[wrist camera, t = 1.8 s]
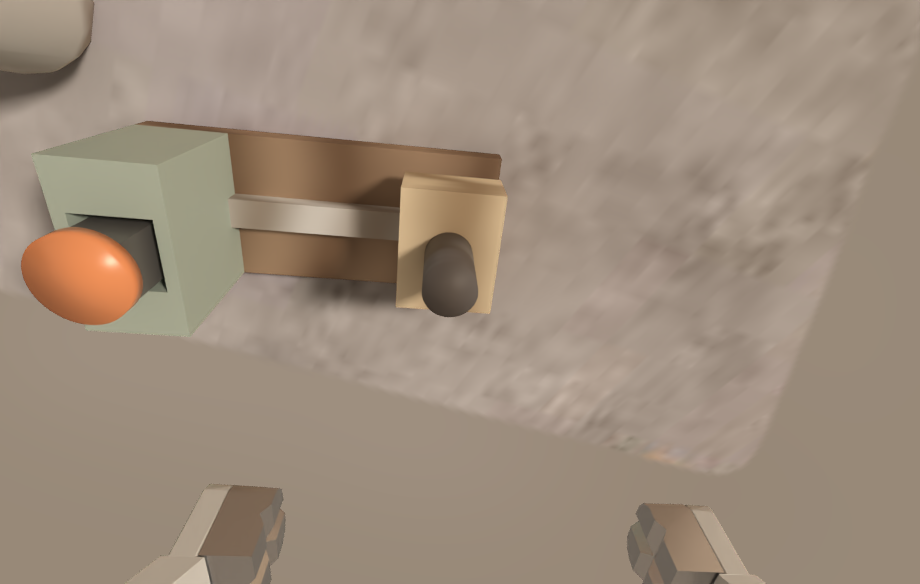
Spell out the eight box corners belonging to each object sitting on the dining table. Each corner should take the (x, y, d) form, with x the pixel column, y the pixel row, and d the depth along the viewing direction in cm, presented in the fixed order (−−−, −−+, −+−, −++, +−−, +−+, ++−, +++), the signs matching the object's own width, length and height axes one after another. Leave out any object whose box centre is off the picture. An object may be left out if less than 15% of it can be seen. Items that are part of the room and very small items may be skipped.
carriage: (400, 281, 28) (388, 351, 22) (405, 171, 25) (393, 215, 19) (485, 287, 28) (497, 358, 22) (500, 180, 25) (520, 226, 19)
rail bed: (174, 257, 29) (155, 273, 27) (147, 120, 25) (123, 127, 24) (482, 280, 31) (484, 297, 29) (499, 154, 27) (503, 163, 25)
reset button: (113, 269, 23) (39, 321, 19) (92, 192, 21) (6, 230, 17) (195, 275, 23) (141, 328, 19) (182, 199, 21) (118, 239, 17)
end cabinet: (164, 266, 28) (86, 330, 22) (134, 124, 24) (31, 153, 18) (244, 272, 28) (190, 336, 22) (227, 133, 25) (157, 164, 19)
